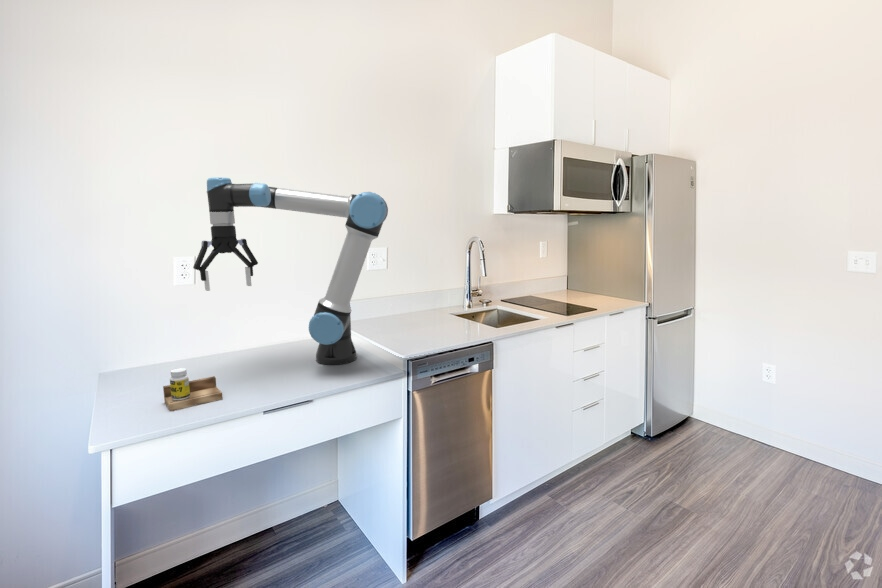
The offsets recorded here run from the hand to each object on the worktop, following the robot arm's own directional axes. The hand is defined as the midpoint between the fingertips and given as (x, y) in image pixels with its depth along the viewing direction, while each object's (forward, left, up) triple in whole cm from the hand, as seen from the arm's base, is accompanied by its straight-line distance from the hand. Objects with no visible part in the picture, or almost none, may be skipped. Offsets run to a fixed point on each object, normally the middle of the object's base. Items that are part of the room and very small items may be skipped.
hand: (228, 288), depth 162 cm
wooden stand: (+17, +20, -30) cm, 40 cm away
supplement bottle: (+21, +20, -28) cm, 40 cm away
